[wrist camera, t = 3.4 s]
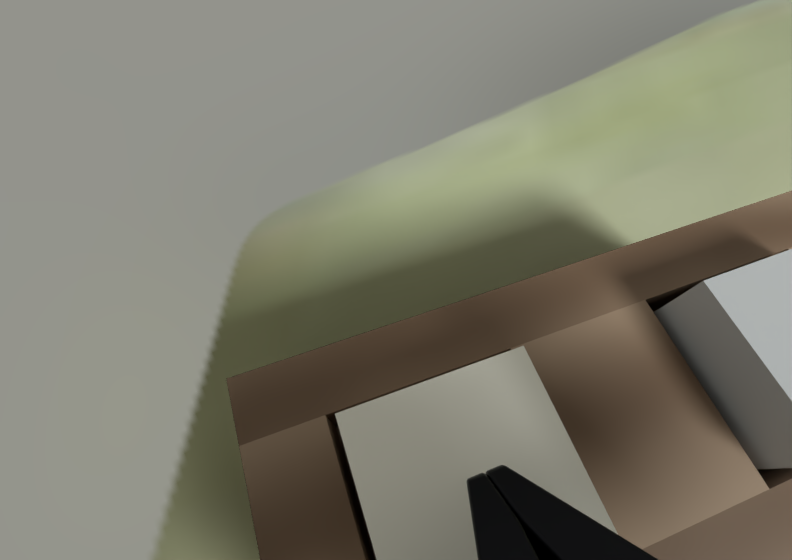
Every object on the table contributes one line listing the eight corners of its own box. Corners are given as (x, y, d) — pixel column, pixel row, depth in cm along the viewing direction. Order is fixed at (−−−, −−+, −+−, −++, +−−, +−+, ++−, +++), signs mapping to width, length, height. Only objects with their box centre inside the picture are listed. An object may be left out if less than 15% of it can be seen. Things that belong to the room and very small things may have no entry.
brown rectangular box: (804, 462, 20) (1060, 450, 12) (346, 676, 16) (311, 846, 9) (674, 277, 23) (807, 183, 16) (284, 416, 20) (224, 377, 13)
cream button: (577, 545, 12) (633, 565, 9) (403, 625, 11) (408, 672, 8) (497, 371, 14) (523, 345, 11) (345, 427, 13) (334, 413, 10)
